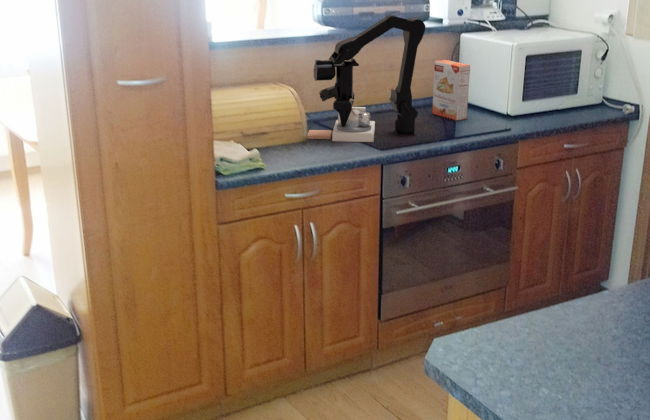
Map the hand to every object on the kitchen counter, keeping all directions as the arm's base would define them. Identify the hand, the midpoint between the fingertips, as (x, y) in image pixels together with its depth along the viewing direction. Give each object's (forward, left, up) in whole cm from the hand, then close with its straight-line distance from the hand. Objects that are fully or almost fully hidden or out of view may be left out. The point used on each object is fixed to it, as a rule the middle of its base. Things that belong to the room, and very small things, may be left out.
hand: (344, 124), depth 257 cm
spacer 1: (0, 0, 0) cm, 0 cm away
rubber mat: (+9, 0, -4) cm, 10 cm away
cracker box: (-38, -33, -5) cm, 51 cm away
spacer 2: (-7, 0, 0) cm, 7 cm away
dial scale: (-3, -2, -4) cm, 6 cm away
